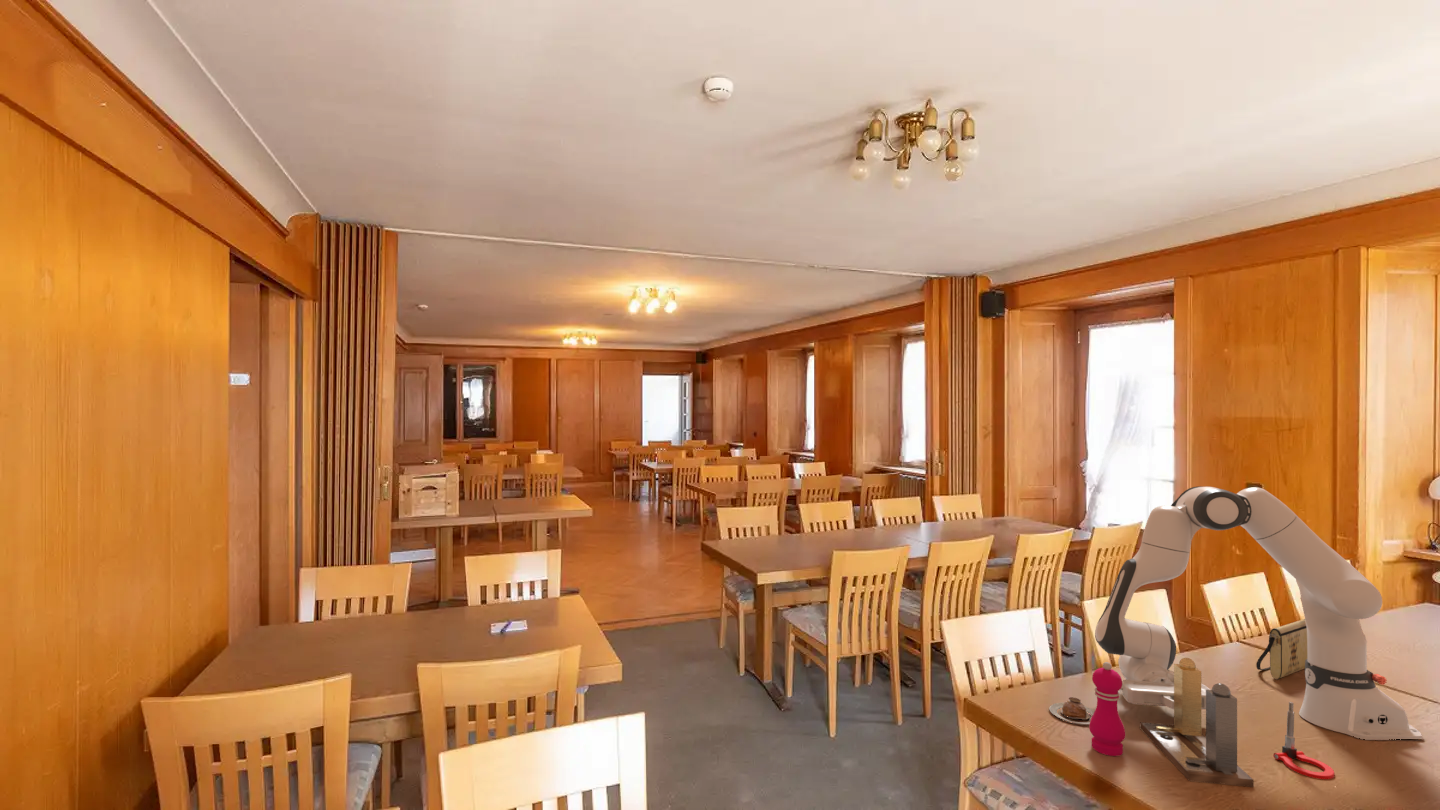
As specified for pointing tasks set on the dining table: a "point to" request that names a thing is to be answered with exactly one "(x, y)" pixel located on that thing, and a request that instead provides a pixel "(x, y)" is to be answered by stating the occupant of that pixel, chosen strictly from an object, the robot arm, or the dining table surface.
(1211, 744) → the fixed leg
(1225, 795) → the dining table surface
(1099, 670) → the pepper mill
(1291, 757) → the tow hook
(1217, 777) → the walnut board
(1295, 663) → the clutch purse
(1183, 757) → the bolt strip
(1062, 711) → the pastry
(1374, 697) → the robot arm
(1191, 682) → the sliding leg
